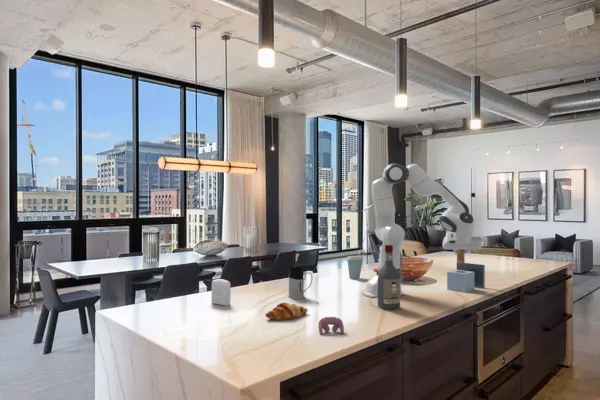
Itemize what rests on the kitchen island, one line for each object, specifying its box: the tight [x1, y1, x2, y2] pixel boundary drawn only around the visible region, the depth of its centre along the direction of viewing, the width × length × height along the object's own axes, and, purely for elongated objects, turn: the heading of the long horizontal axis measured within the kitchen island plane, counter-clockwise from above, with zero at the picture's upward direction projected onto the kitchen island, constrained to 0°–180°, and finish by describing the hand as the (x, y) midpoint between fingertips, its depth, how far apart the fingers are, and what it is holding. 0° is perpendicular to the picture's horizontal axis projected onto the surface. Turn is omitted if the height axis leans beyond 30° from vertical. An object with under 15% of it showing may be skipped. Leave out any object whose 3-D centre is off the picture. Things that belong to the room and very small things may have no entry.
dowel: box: [456, 250, 466, 265], centre depth 244 cm, size 4×4×12 cm
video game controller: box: [317, 316, 345, 335], centre depth 168 cm, size 10×5×7 cm, turn 93°
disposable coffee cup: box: [346, 255, 364, 280], centre depth 284 cm, size 11×11×15 cm
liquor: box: [377, 245, 401, 311], centre depth 207 cm, size 9×9×30 cm
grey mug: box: [288, 267, 313, 300], centre depth 228 cm, size 9×14×15 cm, turn 59°
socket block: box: [446, 269, 475, 293], centre depth 246 cm, size 11×11×10 cm
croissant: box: [265, 302, 309, 321], centre depth 190 cm, size 21×10×8 cm, turn 124°
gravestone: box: [210, 278, 232, 307], centre depth 214 cm, size 10×4×12 cm, turn 60°
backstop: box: [456, 262, 486, 289], centre depth 249 cm, size 20×16×14 cm
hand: (460, 252), depth 244 cm, fingers closed on dowel, 4 cm apart
